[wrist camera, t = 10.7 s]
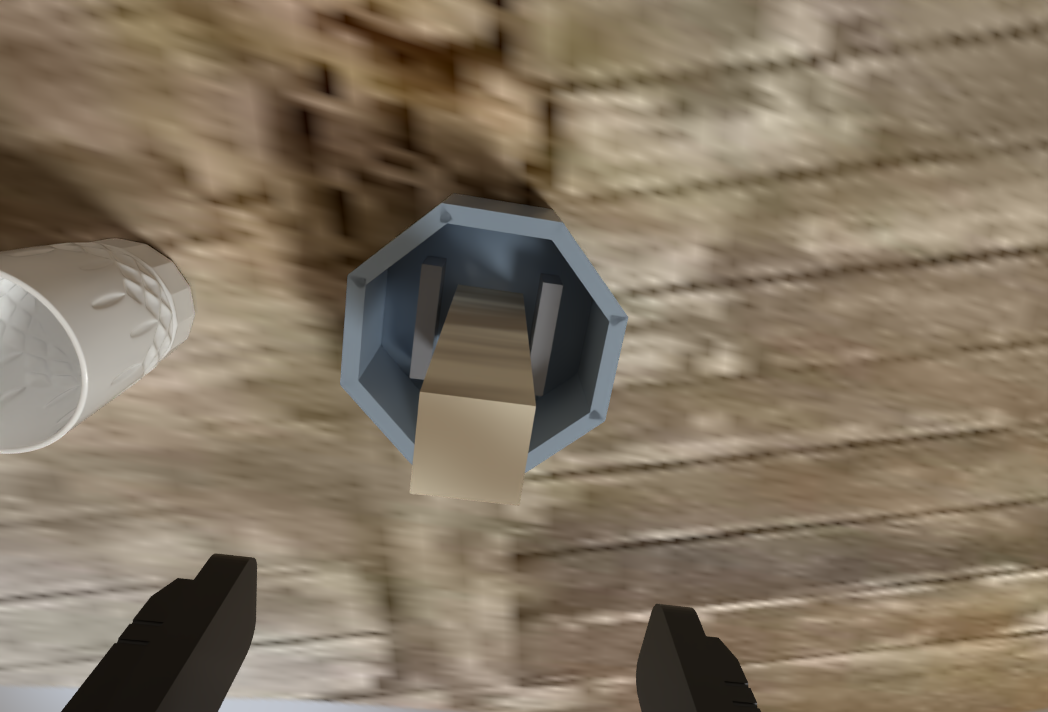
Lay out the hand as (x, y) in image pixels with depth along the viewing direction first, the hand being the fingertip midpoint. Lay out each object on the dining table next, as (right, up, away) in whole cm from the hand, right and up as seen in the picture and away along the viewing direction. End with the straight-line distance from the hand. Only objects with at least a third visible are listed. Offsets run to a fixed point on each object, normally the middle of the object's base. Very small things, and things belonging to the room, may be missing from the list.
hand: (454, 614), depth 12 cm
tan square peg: (-1, +7, +21) cm, 22 cm away
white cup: (-20, +8, +21) cm, 30 cm away
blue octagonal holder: (-1, +7, +21) cm, 23 cm away
